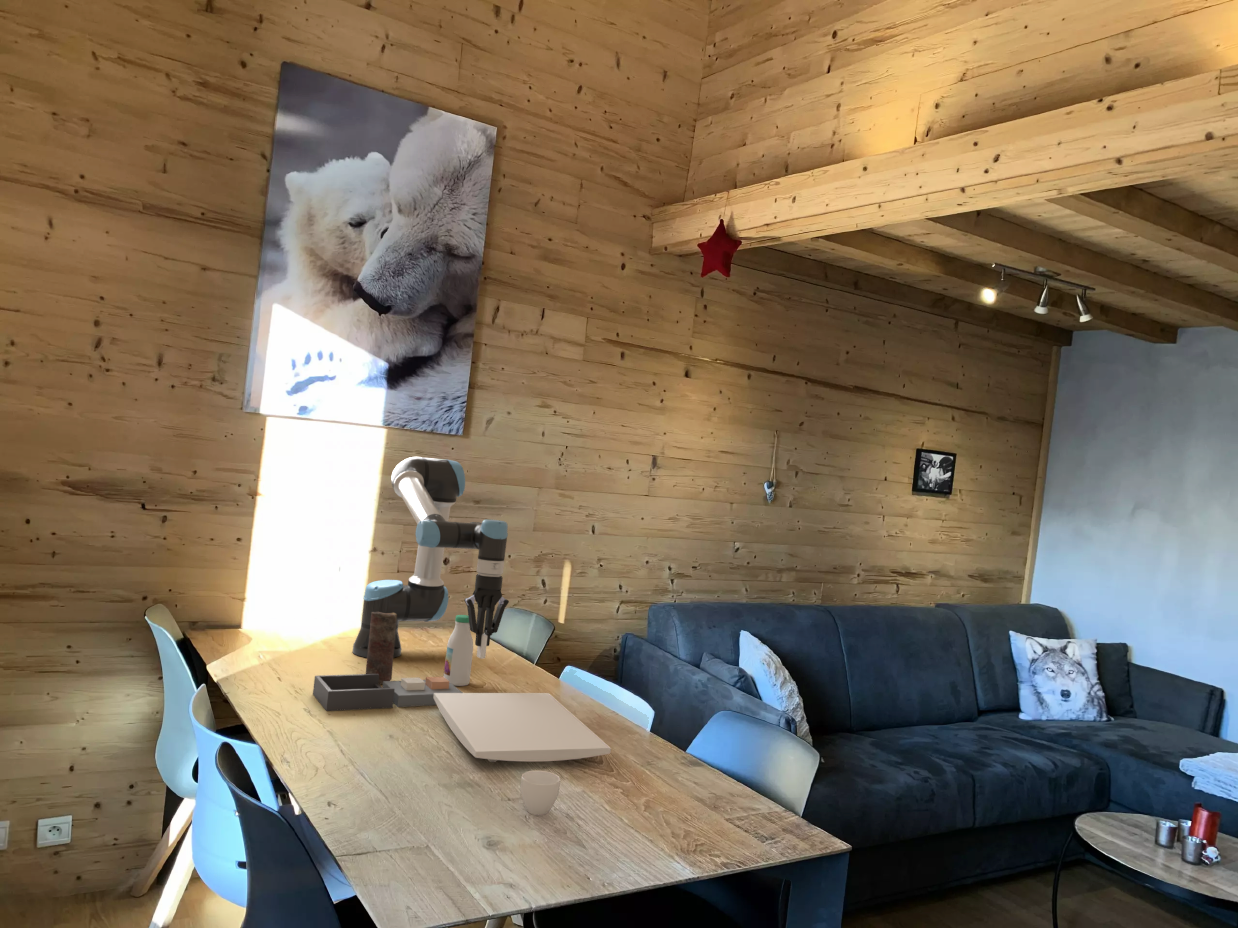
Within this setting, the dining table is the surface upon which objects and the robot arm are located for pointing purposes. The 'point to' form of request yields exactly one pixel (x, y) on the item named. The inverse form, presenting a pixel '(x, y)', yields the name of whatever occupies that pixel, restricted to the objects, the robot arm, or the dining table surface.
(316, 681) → the box
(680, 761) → the dining table surface
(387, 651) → the candle
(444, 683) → the tile terracotta
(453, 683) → the milk bottle
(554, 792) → the cup
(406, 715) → the dining table surface
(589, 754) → the board
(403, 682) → the tile white
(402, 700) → the slate board
